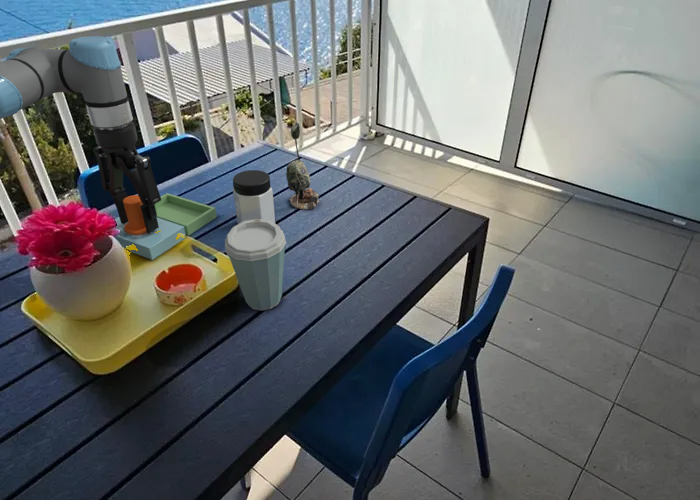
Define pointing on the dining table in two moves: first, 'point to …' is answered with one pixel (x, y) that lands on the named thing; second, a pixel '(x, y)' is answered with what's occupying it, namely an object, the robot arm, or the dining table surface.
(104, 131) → the robot arm
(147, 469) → the dining table surface
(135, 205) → the plug
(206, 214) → the tray
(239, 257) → the disposable coffee cup
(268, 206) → the jar
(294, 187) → the plant with pod
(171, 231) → the plate
